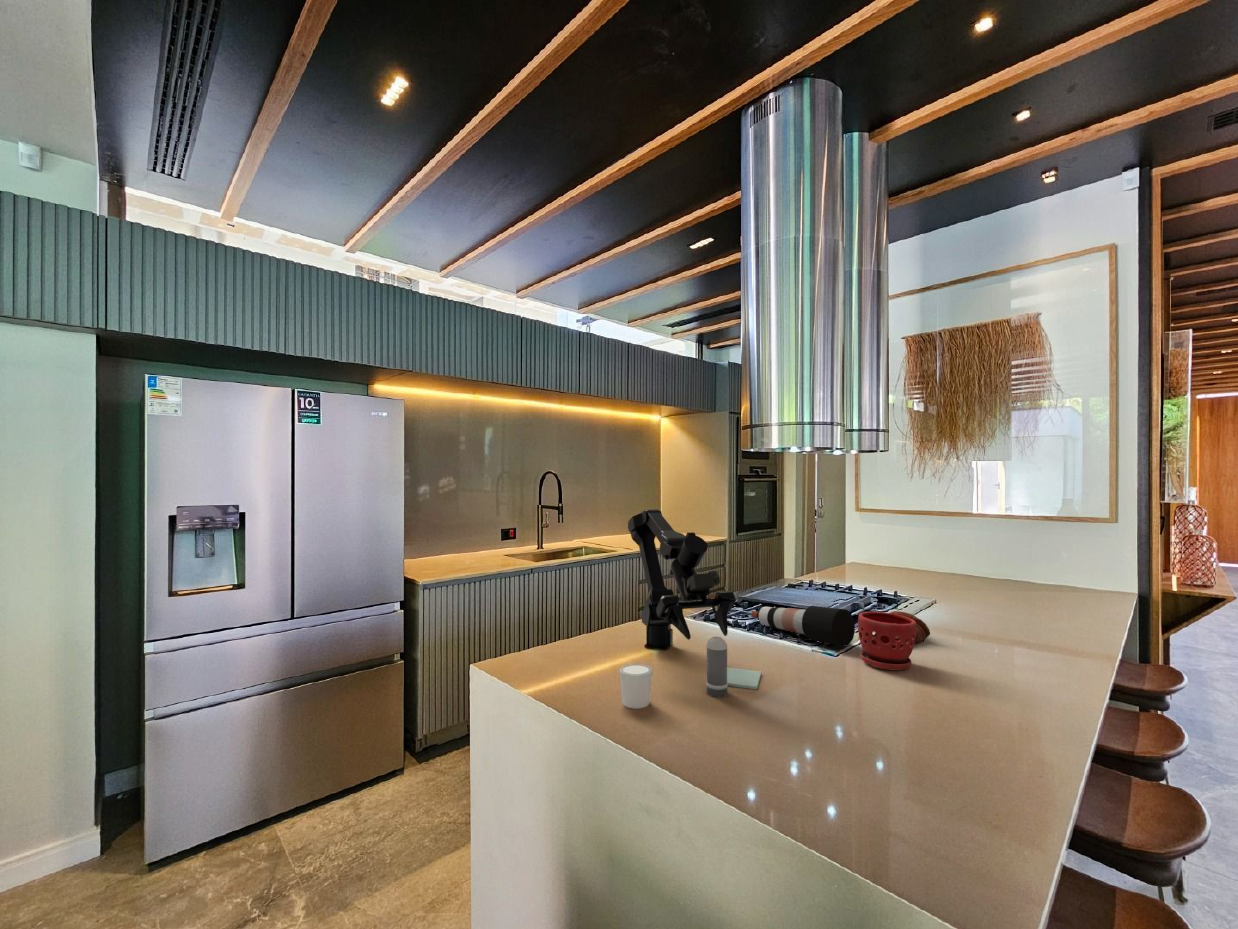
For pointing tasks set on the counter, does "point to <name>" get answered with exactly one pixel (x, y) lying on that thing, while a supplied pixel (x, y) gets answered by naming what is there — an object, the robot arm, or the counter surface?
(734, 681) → the coaster
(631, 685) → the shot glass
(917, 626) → the pastry
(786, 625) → the striped bottle
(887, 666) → the plant pot
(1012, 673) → the counter surface
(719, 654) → the cylinder
